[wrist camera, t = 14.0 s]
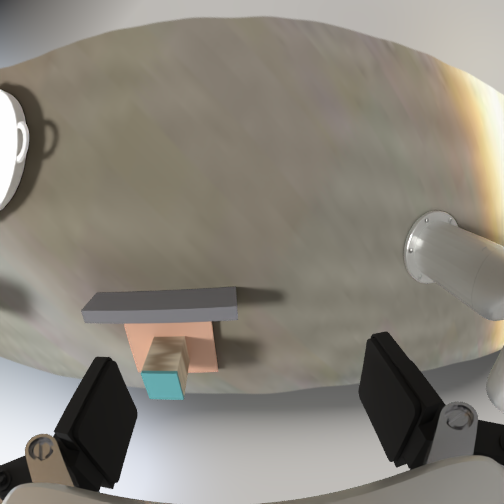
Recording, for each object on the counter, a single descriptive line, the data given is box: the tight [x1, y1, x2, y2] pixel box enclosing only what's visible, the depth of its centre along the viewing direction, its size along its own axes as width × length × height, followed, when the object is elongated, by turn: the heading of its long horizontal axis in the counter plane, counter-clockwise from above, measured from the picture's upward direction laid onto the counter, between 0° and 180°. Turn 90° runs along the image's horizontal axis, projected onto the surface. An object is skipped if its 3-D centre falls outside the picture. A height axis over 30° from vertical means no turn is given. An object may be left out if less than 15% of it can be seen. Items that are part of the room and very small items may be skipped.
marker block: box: [141, 336, 190, 400], centre depth 40 cm, size 5×5×9 cm
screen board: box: [81, 287, 238, 324], centre depth 39 cm, size 22×2×6 cm, turn 93°
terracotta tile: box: [124, 321, 218, 373], centre depth 44 cm, size 14×10×1 cm
